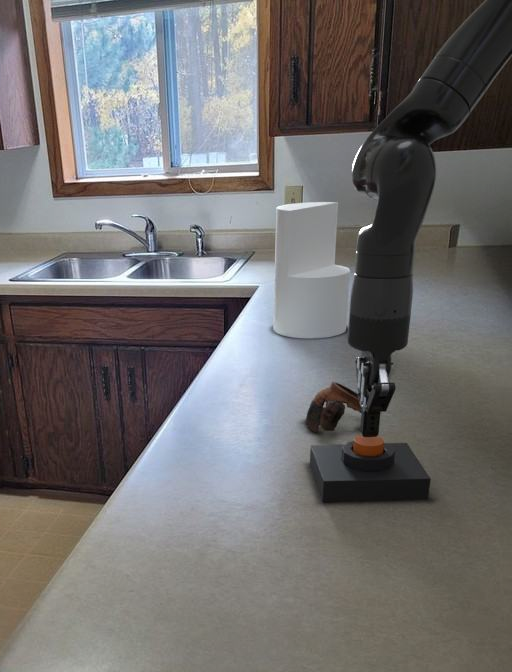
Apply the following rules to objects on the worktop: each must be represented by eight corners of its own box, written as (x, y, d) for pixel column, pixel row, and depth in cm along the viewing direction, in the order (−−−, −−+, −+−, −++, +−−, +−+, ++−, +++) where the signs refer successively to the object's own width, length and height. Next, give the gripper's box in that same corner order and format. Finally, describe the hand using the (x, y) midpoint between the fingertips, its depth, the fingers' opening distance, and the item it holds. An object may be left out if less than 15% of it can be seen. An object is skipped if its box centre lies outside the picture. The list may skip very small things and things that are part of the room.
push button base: (404, 462, 110) (408, 431, 107) (428, 499, 99) (432, 466, 97) (309, 464, 110) (311, 433, 108) (322, 502, 100) (324, 469, 98)
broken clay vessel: (303, 416, 129) (329, 375, 126) (351, 445, 127) (377, 404, 125) (294, 425, 118) (321, 380, 115) (345, 456, 116) (375, 411, 113)
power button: (379, 445, 104) (380, 434, 104) (386, 457, 101) (387, 445, 100) (350, 446, 105) (351, 435, 104) (356, 458, 101) (357, 446, 100)
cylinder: (258, 330, 180) (260, 208, 167) (303, 316, 190) (308, 200, 177) (315, 342, 168) (322, 212, 155) (360, 327, 178) (370, 203, 165)
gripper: (425, 321, 88) (409, 454, 95) (397, 297, 100) (385, 416, 107) (361, 323, 88) (350, 455, 96) (340, 299, 100) (333, 418, 108)
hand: (368, 434), depth 102 cm, fingers closed
